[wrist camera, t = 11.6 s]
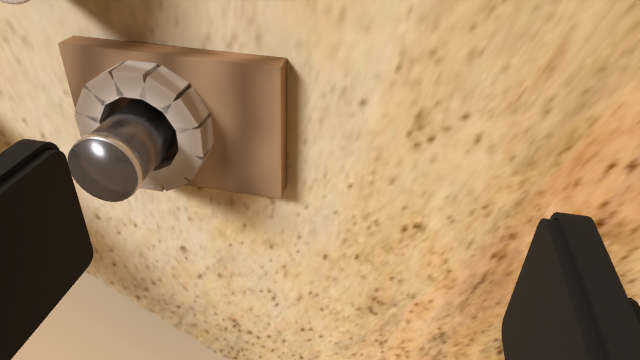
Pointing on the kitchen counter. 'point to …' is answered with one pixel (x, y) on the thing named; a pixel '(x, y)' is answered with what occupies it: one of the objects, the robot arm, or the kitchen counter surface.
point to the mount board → (225, 96)
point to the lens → (122, 151)
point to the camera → (15, 1)
